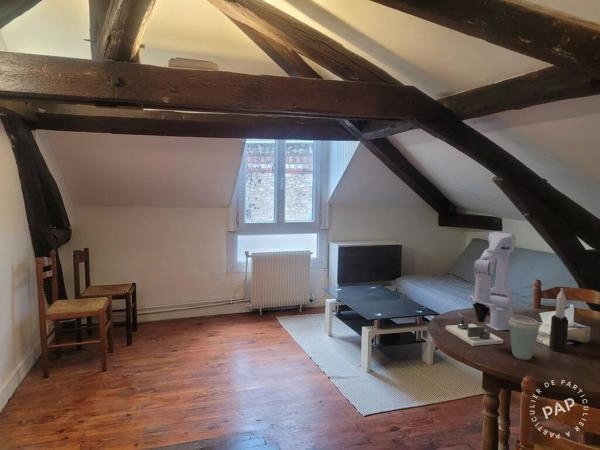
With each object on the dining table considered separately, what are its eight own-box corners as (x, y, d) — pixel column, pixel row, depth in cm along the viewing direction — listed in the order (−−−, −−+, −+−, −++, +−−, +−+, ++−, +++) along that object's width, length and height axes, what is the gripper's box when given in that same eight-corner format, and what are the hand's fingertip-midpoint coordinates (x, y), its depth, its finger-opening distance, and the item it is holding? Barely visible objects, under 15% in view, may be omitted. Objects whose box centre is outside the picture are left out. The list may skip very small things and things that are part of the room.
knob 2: (485, 334, 176) (486, 324, 175) (492, 338, 172) (492, 327, 171) (465, 336, 174) (465, 325, 173) (471, 339, 170) (472, 329, 169)
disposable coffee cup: (537, 354, 160) (540, 316, 159) (538, 364, 151) (541, 324, 149) (506, 348, 165) (509, 312, 164) (505, 359, 156) (508, 320, 154)
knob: (469, 329, 182) (470, 319, 182) (459, 328, 182) (460, 318, 182) (461, 321, 192) (462, 312, 192) (452, 321, 192) (452, 312, 192)
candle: (563, 348, 166) (567, 287, 164) (566, 352, 162) (571, 290, 159) (548, 346, 168) (553, 285, 166) (551, 351, 163) (556, 288, 161)
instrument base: (473, 326, 190) (473, 322, 190) (503, 343, 171) (503, 338, 171) (445, 328, 187) (445, 324, 187) (472, 345, 168) (473, 340, 168)
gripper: (463, 285, 174) (461, 316, 175) (485, 294, 160) (483, 328, 161) (478, 284, 175) (476, 315, 177) (501, 293, 161) (499, 327, 162)
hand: (480, 321), depth 169 cm, fingers closed
